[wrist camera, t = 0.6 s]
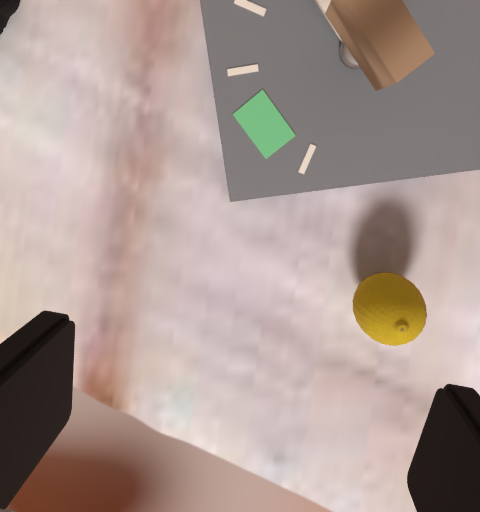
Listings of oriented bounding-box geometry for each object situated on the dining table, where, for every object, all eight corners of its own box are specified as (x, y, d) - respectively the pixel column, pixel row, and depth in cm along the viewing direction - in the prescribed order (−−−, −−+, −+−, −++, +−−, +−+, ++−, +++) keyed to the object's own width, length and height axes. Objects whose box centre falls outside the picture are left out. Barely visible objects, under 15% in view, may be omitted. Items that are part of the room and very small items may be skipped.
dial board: (502, -128, 29) (516, -143, 27) (494, 164, 34) (504, 166, 33) (192, -65, 31) (188, -76, 29) (231, 199, 37) (229, 202, 35)
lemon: (350, 258, 37) (371, 290, 30) (413, 264, 37) (450, 299, 29) (341, 314, 39) (358, 358, 31) (400, 320, 39) (432, 367, 31)
